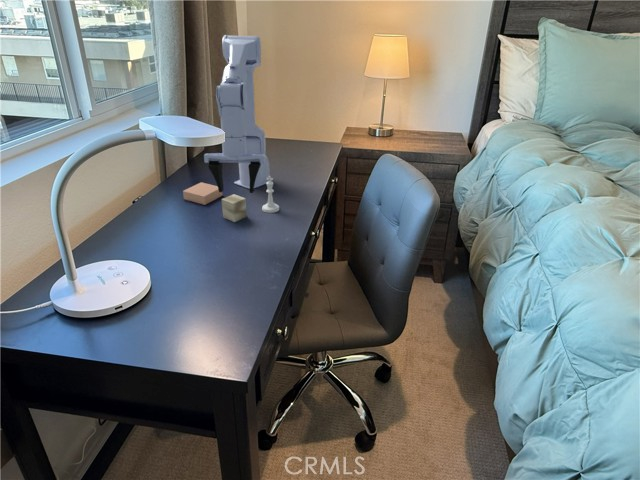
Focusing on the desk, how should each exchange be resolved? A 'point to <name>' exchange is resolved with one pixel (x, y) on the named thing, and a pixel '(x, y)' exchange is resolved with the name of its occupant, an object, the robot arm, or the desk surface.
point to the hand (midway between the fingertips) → (236, 191)
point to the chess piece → (270, 199)
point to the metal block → (234, 208)
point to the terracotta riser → (202, 193)
